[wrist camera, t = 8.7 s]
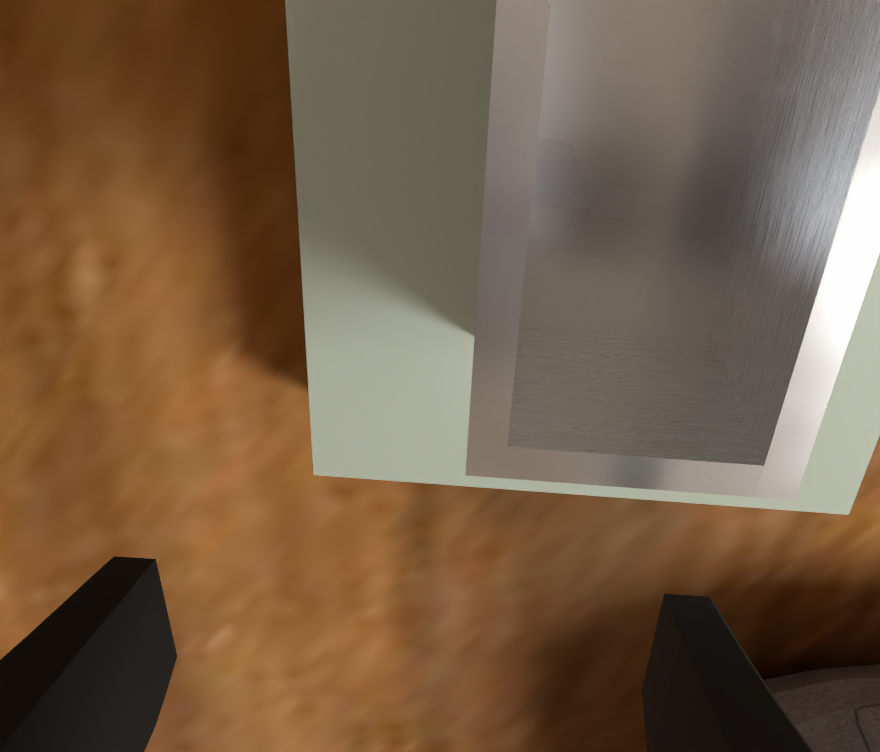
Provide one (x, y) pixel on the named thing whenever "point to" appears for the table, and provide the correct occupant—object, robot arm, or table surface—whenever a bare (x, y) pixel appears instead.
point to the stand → (446, 255)
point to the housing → (672, 238)
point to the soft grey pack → (833, 707)
